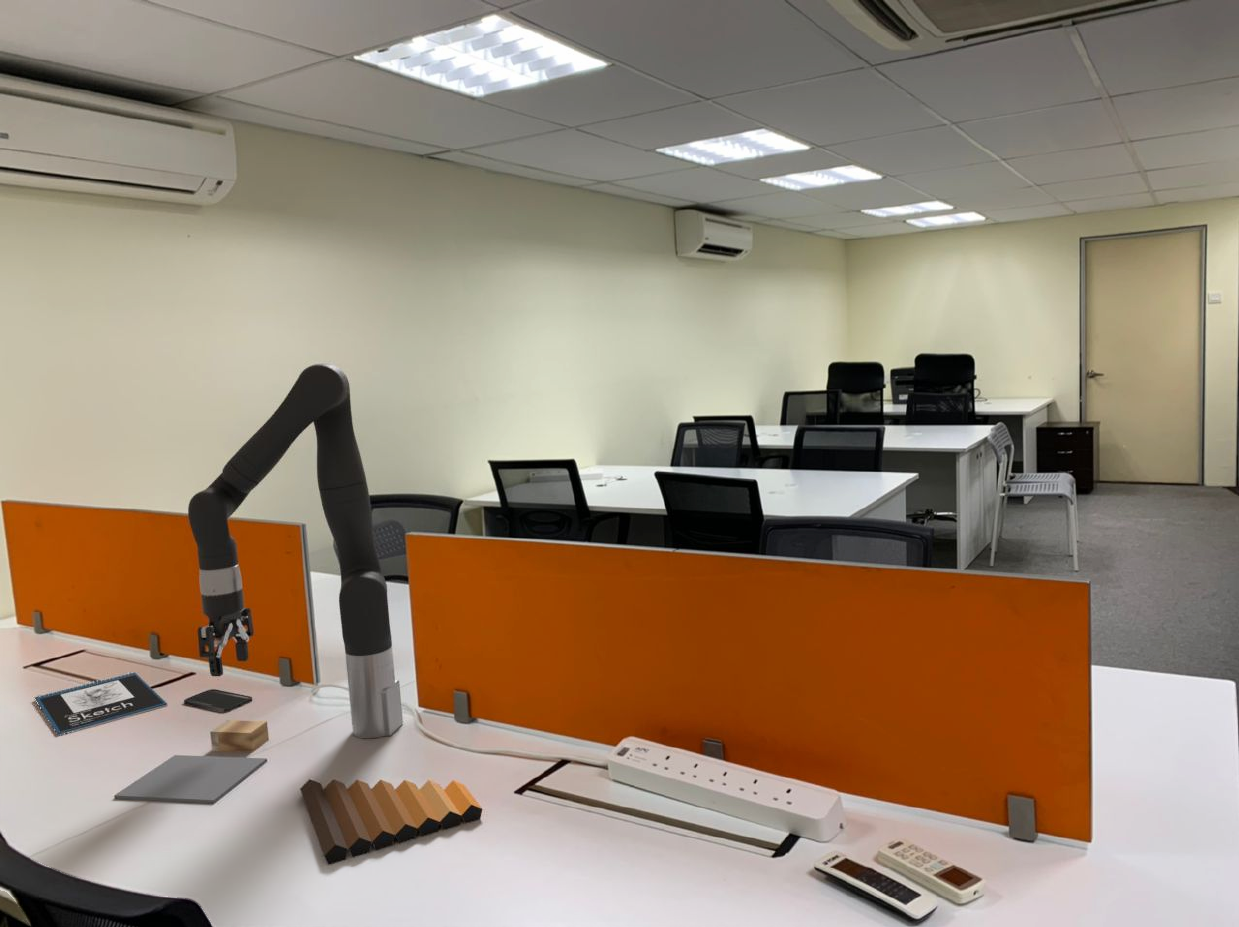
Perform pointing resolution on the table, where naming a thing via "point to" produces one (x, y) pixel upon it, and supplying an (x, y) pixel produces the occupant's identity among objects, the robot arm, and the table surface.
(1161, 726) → the table surface
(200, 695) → the phone
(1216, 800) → the table surface
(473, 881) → the table surface
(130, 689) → the sketchbook
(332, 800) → the ridged wooden panel
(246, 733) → the block
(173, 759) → the mat
